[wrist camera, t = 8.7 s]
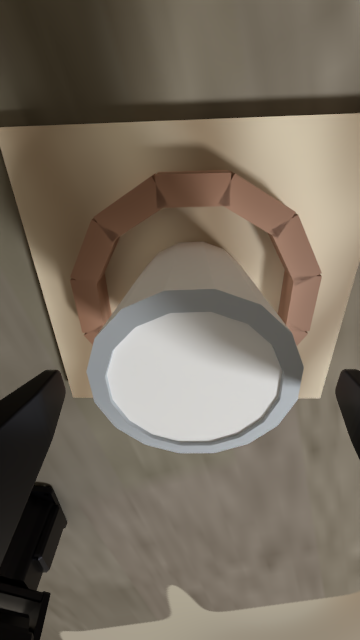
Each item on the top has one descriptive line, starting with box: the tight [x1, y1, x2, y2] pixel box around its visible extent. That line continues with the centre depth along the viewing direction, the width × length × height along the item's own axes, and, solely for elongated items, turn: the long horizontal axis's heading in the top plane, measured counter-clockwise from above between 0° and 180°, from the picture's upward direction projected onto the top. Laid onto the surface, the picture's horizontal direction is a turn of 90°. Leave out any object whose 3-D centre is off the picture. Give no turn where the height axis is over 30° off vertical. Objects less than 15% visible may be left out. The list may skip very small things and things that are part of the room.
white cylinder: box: [86, 241, 304, 453], centre depth 12 cm, size 7×7×7 cm
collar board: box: [0, 113, 360, 398], centre depth 15 cm, size 16×15×2 cm
